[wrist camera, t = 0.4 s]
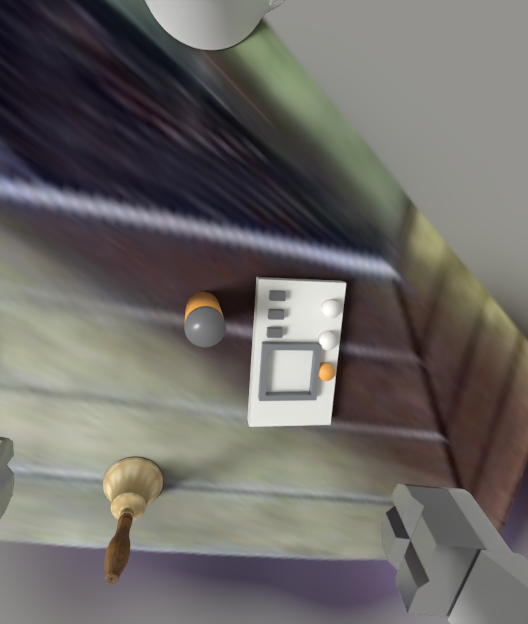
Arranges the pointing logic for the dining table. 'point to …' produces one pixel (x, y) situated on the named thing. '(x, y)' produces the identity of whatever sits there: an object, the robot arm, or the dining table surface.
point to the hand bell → (128, 505)
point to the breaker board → (294, 351)
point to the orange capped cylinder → (204, 320)
